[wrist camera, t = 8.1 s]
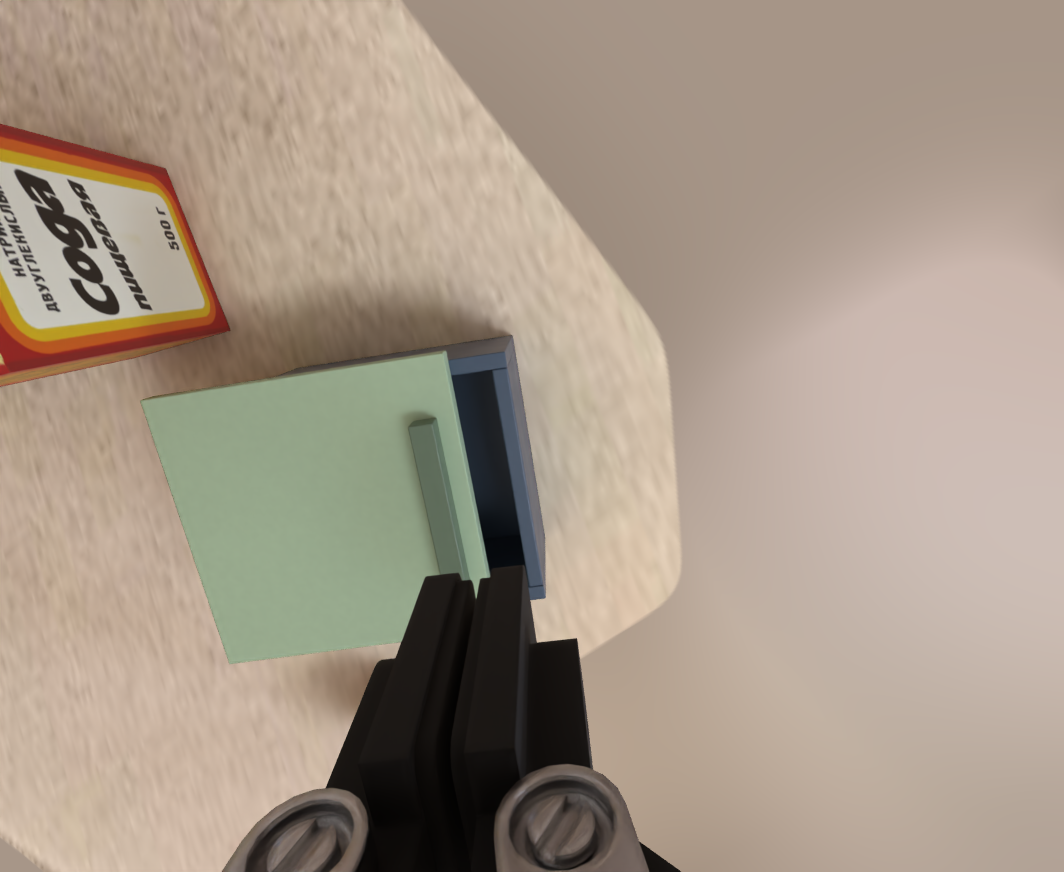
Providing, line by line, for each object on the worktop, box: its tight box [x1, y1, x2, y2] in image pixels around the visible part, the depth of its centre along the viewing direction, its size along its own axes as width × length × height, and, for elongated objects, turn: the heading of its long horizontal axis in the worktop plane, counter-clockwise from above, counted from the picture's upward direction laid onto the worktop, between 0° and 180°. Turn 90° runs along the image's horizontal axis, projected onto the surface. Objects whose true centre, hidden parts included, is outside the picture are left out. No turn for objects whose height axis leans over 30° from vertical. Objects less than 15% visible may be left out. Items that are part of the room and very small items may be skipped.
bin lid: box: [140, 350, 490, 664], centre depth 30 cm, size 15×15×2 cm
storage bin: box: [276, 335, 546, 600], centre depth 35 cm, size 14×14×8 cm
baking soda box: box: [0, 124, 230, 387], centre depth 28 cm, size 10×6×16 cm
